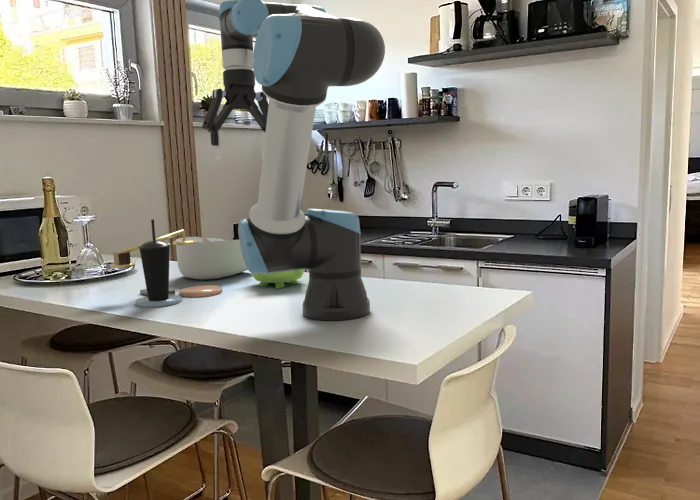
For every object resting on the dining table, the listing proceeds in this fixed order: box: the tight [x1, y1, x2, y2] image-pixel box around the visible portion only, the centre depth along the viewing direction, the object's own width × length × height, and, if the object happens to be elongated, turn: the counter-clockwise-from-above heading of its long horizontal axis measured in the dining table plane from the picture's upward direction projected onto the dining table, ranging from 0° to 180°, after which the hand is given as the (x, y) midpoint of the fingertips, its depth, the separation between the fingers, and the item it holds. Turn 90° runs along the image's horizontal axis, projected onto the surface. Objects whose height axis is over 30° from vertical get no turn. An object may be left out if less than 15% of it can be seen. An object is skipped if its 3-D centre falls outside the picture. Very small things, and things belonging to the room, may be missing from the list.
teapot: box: [251, 270, 305, 289], centre depth 174 cm, size 16×14×13 cm
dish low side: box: [135, 294, 183, 309], centre depth 156 cm, size 11×11×1 cm
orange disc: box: [179, 284, 223, 298], centre depth 166 cm, size 11×11×1 cm
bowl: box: [175, 236, 249, 281], centre depth 189 cm, size 20×19×12 cm
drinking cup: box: [138, 218, 172, 301], centre depth 155 cm, size 8×8×20 cm
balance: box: [109, 228, 196, 297], centre depth 165 cm, size 8×24×16 cm, turn 133°
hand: (243, 159), depth 153 cm, fingers open, 13 cm apart
